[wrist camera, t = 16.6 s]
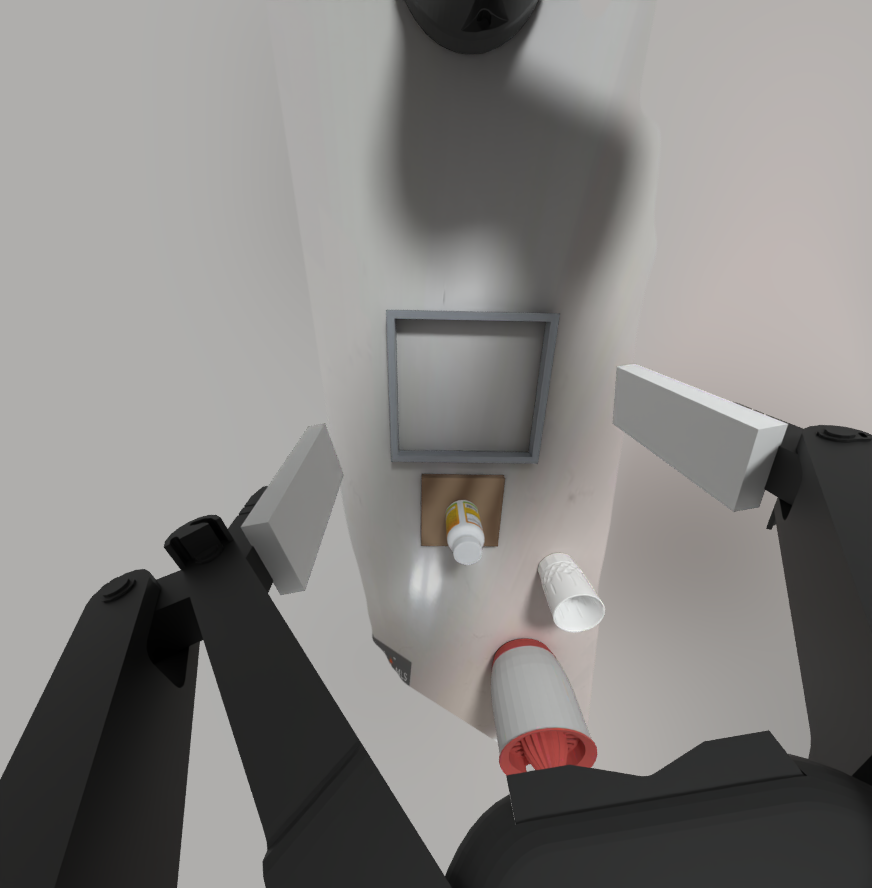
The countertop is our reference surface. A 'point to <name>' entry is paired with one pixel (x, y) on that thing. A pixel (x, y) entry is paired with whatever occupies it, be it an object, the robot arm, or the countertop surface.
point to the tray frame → (541, 393)
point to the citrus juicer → (536, 711)
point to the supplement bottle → (464, 532)
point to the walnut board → (455, 487)
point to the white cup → (569, 594)
